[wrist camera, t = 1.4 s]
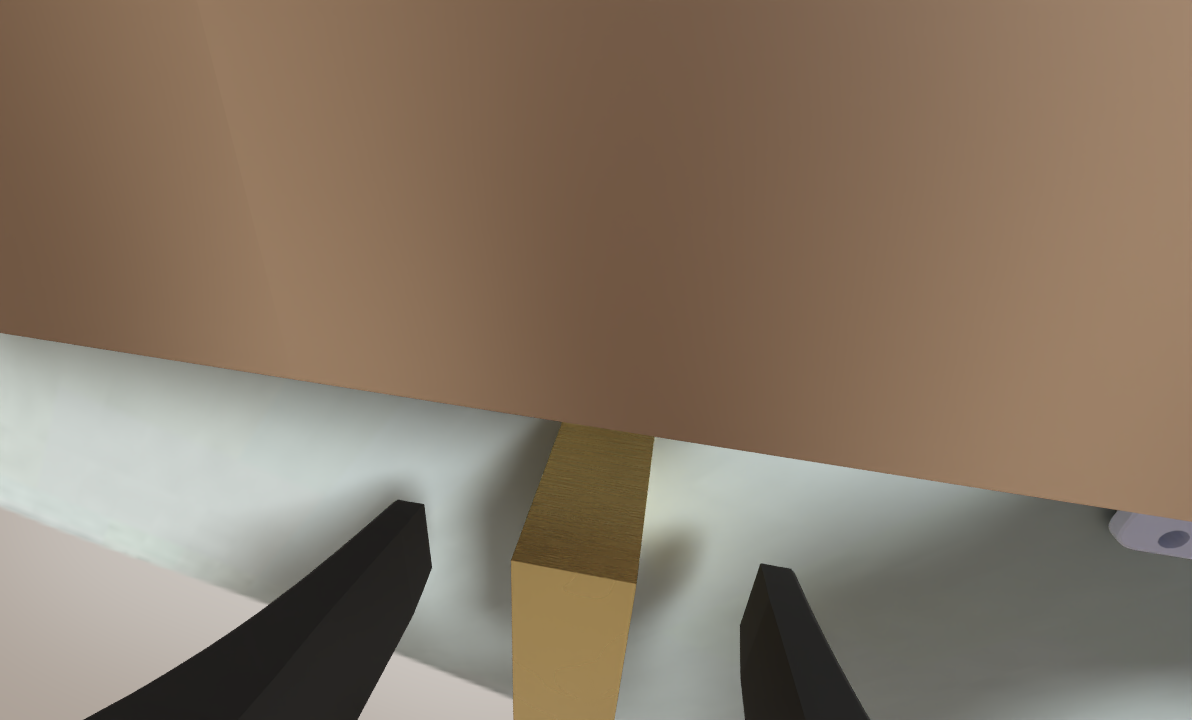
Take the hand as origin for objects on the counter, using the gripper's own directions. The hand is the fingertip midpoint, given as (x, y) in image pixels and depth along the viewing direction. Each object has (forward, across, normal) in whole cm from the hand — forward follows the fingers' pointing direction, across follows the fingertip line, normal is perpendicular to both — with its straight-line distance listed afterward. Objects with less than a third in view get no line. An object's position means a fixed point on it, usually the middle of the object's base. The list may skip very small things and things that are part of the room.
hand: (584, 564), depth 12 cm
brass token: (+3, 0, 0) cm, 3 cm away
